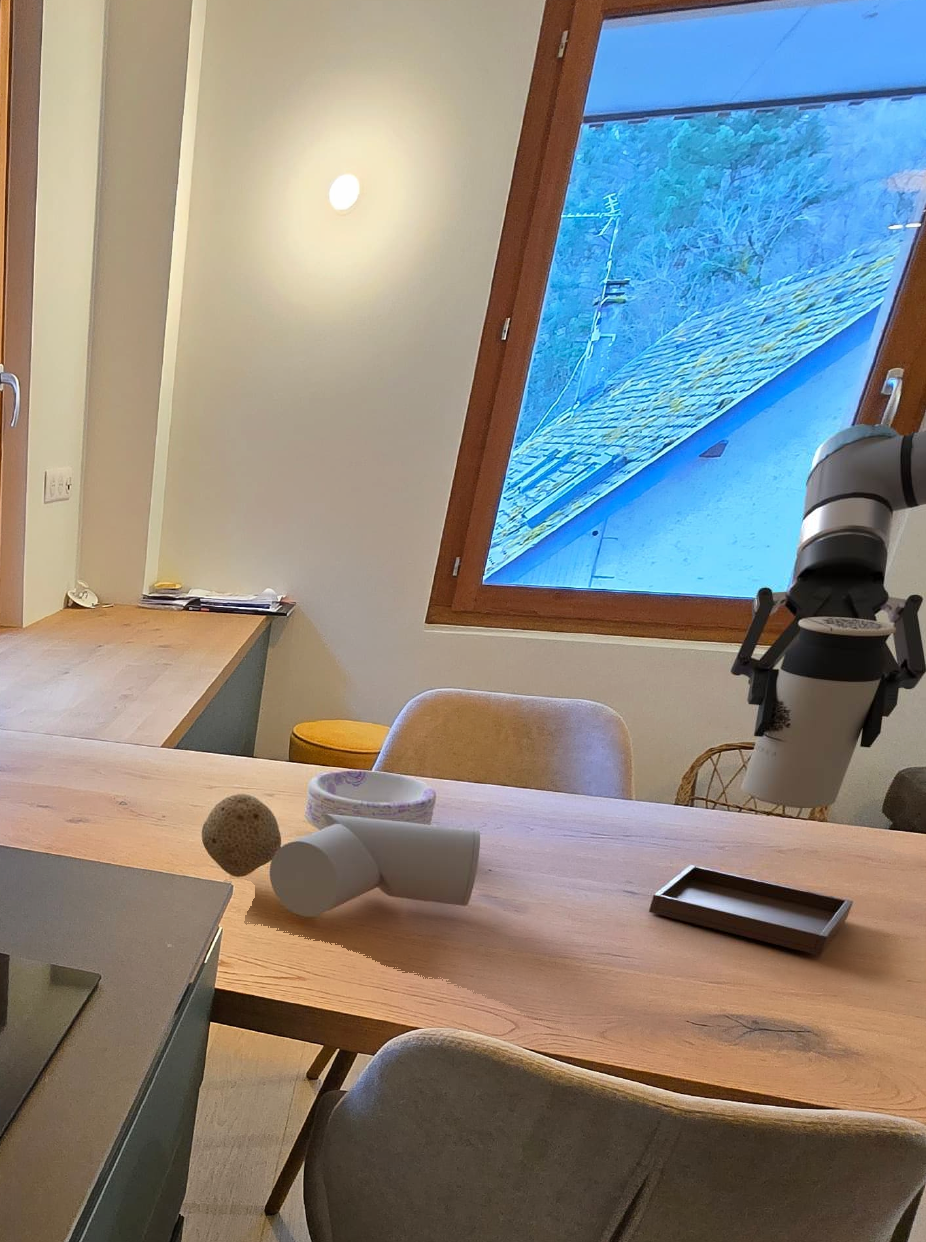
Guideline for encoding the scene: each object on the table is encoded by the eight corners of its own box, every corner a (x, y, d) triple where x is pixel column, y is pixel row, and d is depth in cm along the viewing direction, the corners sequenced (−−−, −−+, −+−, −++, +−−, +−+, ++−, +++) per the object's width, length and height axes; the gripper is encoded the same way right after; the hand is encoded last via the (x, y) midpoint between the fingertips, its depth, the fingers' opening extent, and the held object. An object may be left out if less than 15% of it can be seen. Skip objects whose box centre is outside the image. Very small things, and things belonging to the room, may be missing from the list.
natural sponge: (180, 868, 126) (187, 791, 122) (234, 853, 131) (242, 777, 126) (234, 895, 119) (244, 813, 115) (289, 878, 123) (300, 799, 119)
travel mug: (820, 789, 112) (882, 618, 104) (845, 813, 105) (913, 633, 97) (732, 781, 114) (786, 614, 107) (750, 805, 108) (810, 628, 100)
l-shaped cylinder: (350, 841, 129) (250, 885, 117) (381, 766, 122) (279, 804, 111) (481, 916, 118) (386, 972, 107) (523, 838, 112) (426, 888, 101)
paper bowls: (337, 814, 145) (346, 759, 142) (446, 843, 135) (458, 784, 131) (278, 843, 136) (286, 785, 132) (390, 876, 126) (401, 814, 122)
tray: (846, 918, 113) (853, 901, 113) (820, 955, 104) (827, 936, 104) (685, 881, 124) (690, 864, 123) (648, 912, 115) (653, 894, 114)
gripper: (952, 584, 109) (933, 768, 102) (713, 574, 119) (682, 741, 112) (987, 533, 103) (969, 725, 96) (732, 527, 112) (700, 701, 106)
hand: (815, 734), depth 104 cm, fingers closed on travel mug, 8 cm apart
